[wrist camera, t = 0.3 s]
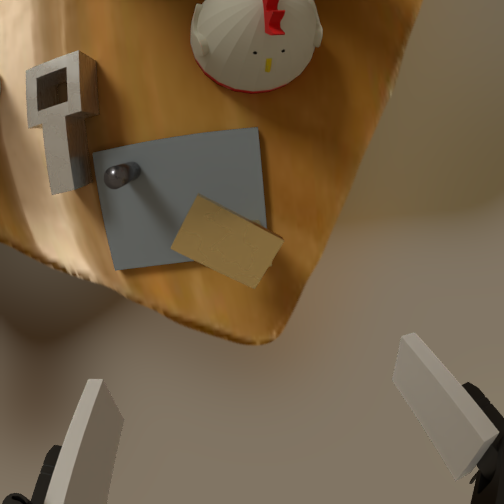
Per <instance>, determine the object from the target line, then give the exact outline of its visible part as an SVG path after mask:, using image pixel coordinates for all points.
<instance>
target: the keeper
mask: <svg viewBox="0 0 504 504" xmlns="http://www.w3.org/2000/svg"><path fill="white" fill-rule="evenodd" d="M283 242H284V239H283V238H282V237H281V236H279V235H278V234H276V233H274V232H272V231H270V230H268V229H266V228H264V227H263V226H262V225H261V223H260V221H259V220H249V219H247V218H246V217H244V216H242V215H240V214H238V213H236V212H234V211H232V210H230V209H228V208H227V207H225V206H223V205H221V204H219V203H217V202H215V201H213V200H211V199H209V198H207V197H205V196H203V195H201V194H199V193H198V194H197V196H196V198H195V200H194V202H193V204H192V206H191V208H190V210H189V212H188V214H187V215H186V217H185V219H184V221H183V223H182V225H181V227H180V229H179V231H178V233H177V235H176V237H175V239H174V241H173V243H172V246H171V248H170V249H172V250H174V251H176V252H178V253H180V254H182V255H184V256H186V257H188V258H190V259H192V260H194V261H196V262H198V263H201V264H203V265H205V266H207V267H209V268H211V269H213V270H215V271H217V272H219V273H221V274H224V275H226V276H228V277H230V278H232V279H234V280H236V281H238V282H240V283H243V284H245V285H247V286H249V287H251V288H253V289H255V288H256V286H257V285H258V283H259V281H260V280H261V278H262V277H263V275H264V273H265V272H266V270H267V269H268V267H269V266H272V260H273V259H274V257H275V255H276V254H277V252H278V251H279V249H280V247H281V246H282V244H283Z"/></svg>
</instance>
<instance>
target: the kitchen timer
mask: <svg viewBox="0 0 504 504" xmlns="http://www.w3.org/2000/svg"><path fill="white" fill-rule="evenodd" d="M322 36H323V28H322V26H321V24H320V20H319V17H318V13H317V9H316V5H315V2H314V0H205V1H204V2H203V3H202V5H201V4H198V3H197V4H196V7H195V11H194V14H193V18H192V23H191V41H190V43H191V47H192V50H193V54H194V57H195V60H196V62H197V64H198V65H199V66H200V68H201V69H202V71H203V72H204V74H205V75H207V76H208V77H209V78H211V79H212V80H213V81H214V82H216V83H217V84H218V85H221V86H223V87H225V88H228V89H230V90H233V91H237V92H244V93H250V94H253V93H263V92H270V91H272V90H275V89H278V88H280V87H283V86H285V85H286V84H288V83H289V82H290V81H292V80H293V79H295V78H296V77H297V76H299V75H300V74H301V73H302V71H303V70H304V68H305V67H306V66H307V64H308V63H309V62H310V60H311V58H312V55H313V52H314V49H315V47H319V46H320V44H321V41H322Z"/></svg>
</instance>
